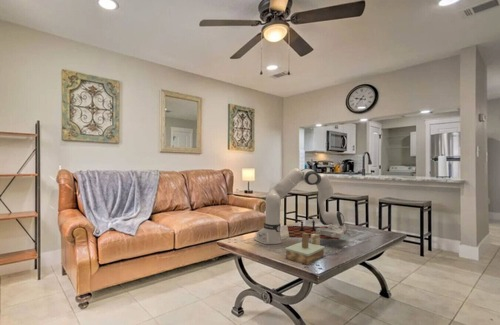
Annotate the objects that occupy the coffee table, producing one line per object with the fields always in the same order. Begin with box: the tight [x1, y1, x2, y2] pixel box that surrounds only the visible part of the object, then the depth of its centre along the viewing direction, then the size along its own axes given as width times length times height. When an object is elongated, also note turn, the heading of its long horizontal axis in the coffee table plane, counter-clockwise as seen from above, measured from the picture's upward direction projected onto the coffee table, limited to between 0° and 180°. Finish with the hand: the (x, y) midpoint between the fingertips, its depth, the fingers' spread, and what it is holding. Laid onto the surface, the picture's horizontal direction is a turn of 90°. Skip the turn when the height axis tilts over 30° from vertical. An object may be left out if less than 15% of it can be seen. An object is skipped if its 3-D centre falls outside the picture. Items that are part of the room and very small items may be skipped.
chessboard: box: [287, 219, 340, 240], centre depth 239 cm, size 40×40×11 cm
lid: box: [284, 233, 326, 256], centre depth 174 cm, size 17×21×10 cm
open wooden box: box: [285, 249, 325, 265], centre depth 174 cm, size 16×20×5 cm
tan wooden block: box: [310, 234, 321, 246], centre depth 184 cm, size 4×4×12 cm
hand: (324, 234), depth 193 cm, fingers open, 8 cm apart
